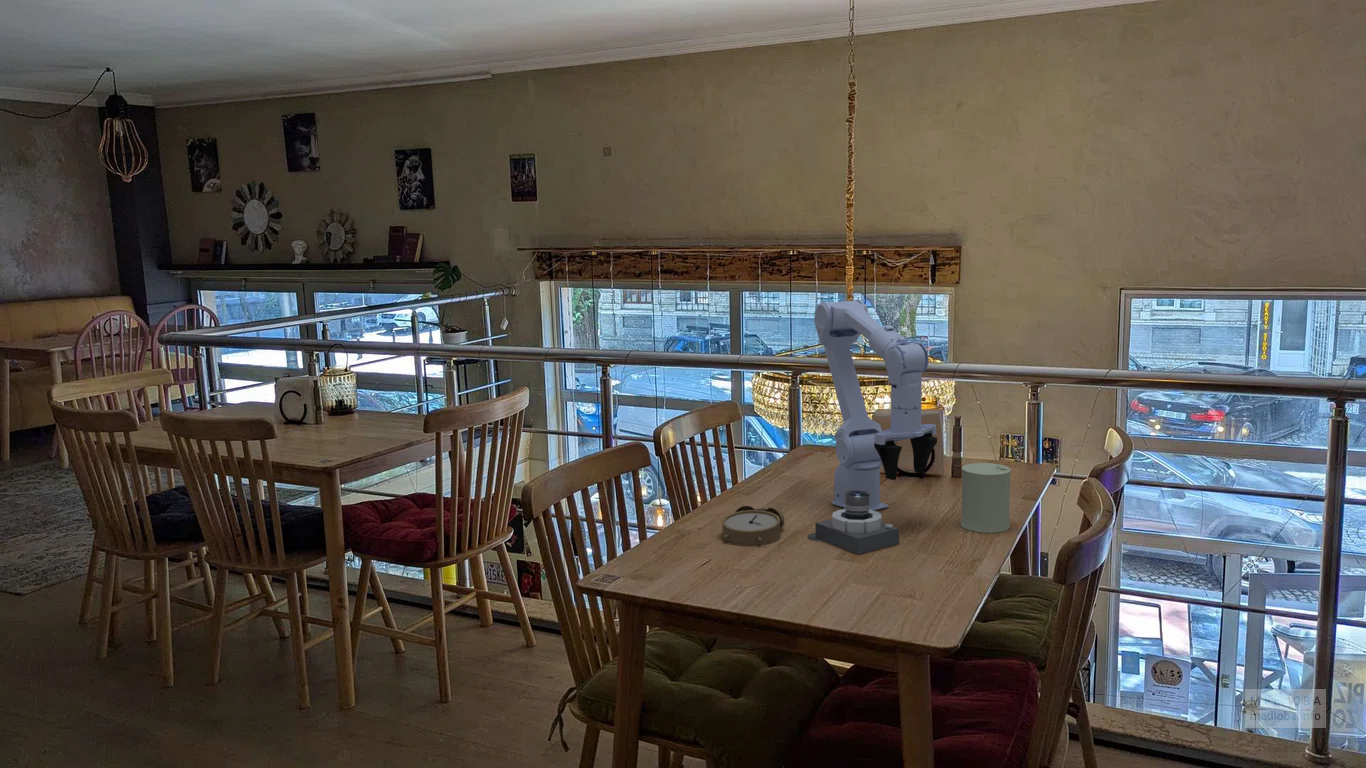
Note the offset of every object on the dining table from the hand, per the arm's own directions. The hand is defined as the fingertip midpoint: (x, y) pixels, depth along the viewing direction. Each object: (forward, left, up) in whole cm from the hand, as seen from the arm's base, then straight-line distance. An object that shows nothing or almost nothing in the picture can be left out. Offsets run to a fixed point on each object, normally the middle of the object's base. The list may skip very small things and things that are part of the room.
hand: (905, 475), depth 188 cm
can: (+8, +13, -11) cm, 19 cm away
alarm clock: (-15, -26, -11) cm, 32 cm away
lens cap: (-5, -17, -11) cm, 21 cm away
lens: (0, -13, -7) cm, 15 cm away
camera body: (0, -13, -10) cm, 17 cm away
